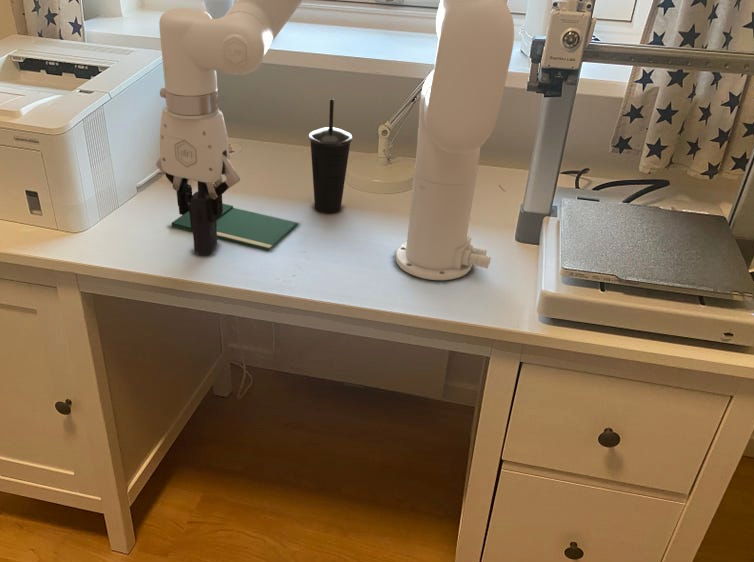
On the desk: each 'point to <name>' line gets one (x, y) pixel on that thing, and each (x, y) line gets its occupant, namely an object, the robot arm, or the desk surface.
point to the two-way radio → (201, 221)
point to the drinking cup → (329, 165)
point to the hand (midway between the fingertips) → (200, 213)
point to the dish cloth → (245, 227)
